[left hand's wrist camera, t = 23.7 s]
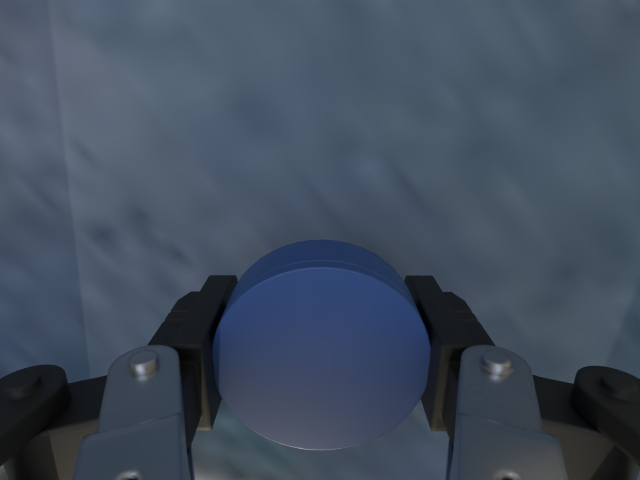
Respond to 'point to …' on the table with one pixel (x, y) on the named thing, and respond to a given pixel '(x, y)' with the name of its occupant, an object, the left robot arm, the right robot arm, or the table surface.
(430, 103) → the table surface
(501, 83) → the table surface
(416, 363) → the lid
